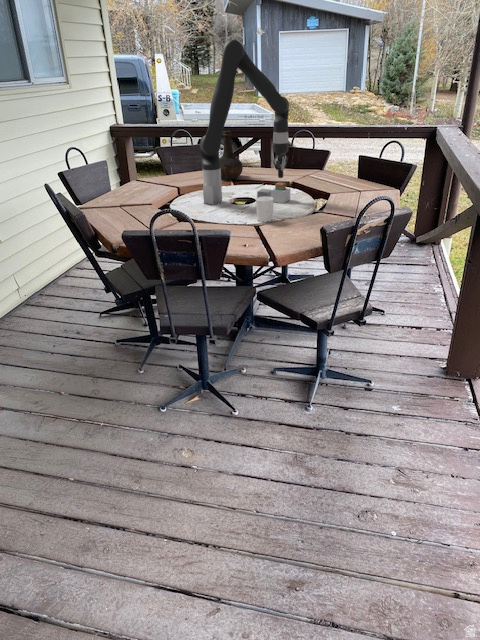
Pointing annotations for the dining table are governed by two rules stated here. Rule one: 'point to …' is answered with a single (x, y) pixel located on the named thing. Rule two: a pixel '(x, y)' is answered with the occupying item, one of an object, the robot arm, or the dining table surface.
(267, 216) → the white cup
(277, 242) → the dining table surface
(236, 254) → the dining table surface
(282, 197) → the white microwave oven
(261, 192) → the gray square block
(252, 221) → the dining table surface
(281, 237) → the dining table surface
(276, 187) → the block
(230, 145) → the glass bottle
